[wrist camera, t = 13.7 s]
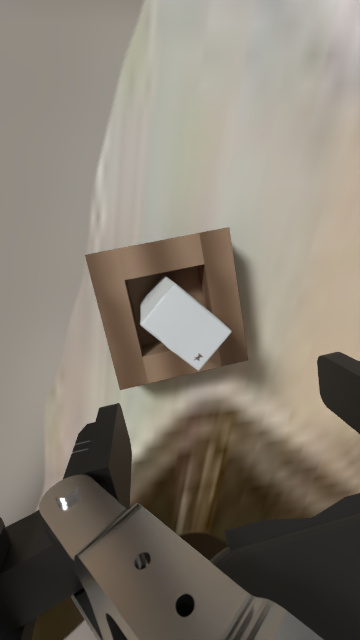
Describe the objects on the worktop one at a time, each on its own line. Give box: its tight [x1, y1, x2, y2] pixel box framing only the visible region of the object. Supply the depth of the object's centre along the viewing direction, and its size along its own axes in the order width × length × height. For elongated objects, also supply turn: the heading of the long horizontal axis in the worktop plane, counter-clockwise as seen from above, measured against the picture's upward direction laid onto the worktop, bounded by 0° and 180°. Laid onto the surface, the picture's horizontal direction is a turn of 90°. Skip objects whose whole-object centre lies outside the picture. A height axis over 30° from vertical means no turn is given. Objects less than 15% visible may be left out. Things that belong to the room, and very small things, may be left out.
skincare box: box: [140, 275, 232, 371], centre depth 28 cm, size 6×4×12 cm
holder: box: [85, 227, 248, 390], centre depth 32 cm, size 14×14×5 cm
